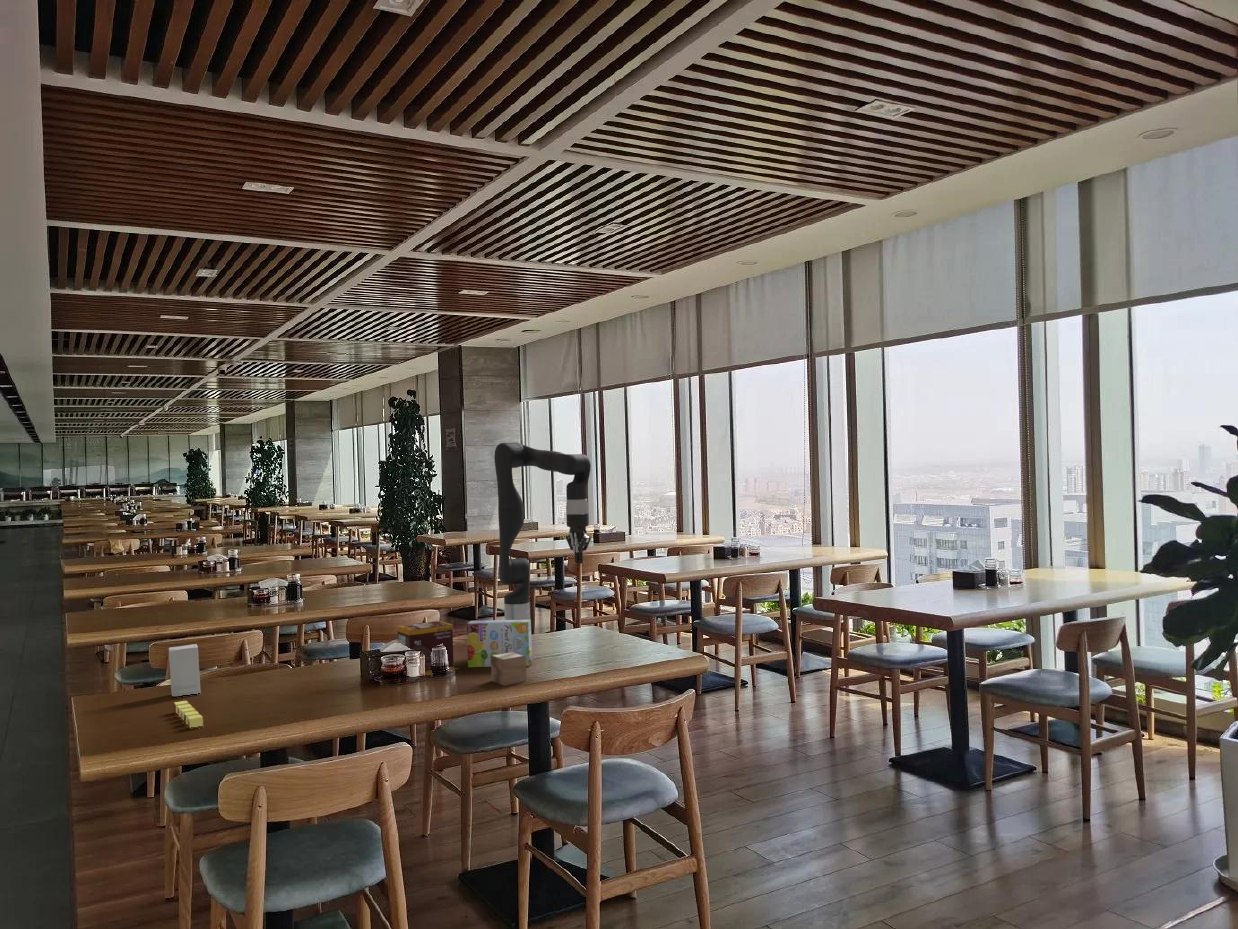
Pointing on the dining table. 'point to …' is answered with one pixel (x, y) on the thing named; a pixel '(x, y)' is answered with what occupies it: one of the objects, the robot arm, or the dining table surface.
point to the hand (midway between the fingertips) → (578, 563)
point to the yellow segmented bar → (188, 714)
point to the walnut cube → (508, 668)
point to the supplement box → (428, 639)
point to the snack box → (497, 640)
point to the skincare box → (184, 670)
